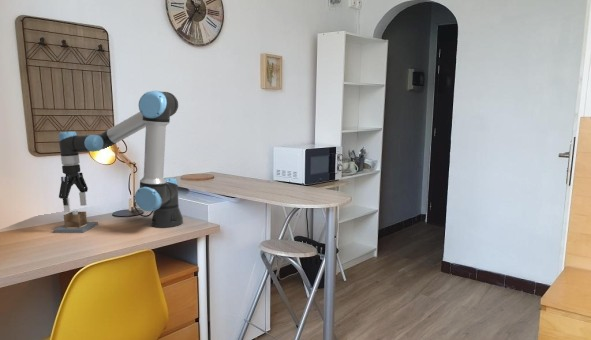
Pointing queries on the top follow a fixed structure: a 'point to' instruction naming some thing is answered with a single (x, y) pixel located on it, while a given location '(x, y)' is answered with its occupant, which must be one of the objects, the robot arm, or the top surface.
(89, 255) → the top surface
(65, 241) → the top surface
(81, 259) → the top surface
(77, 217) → the collar
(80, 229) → the post block
